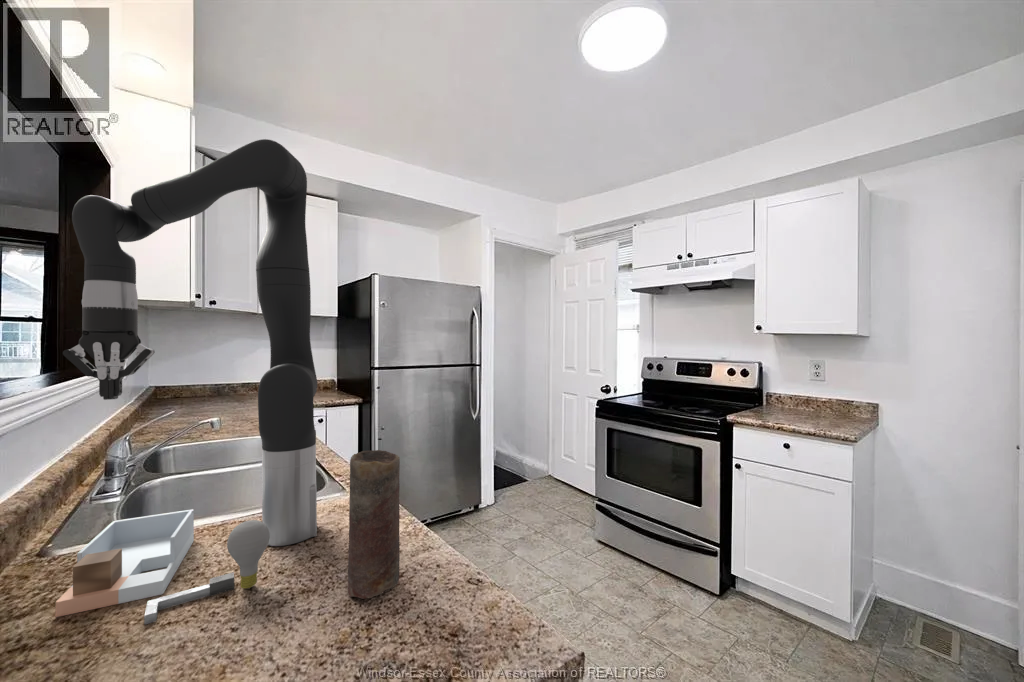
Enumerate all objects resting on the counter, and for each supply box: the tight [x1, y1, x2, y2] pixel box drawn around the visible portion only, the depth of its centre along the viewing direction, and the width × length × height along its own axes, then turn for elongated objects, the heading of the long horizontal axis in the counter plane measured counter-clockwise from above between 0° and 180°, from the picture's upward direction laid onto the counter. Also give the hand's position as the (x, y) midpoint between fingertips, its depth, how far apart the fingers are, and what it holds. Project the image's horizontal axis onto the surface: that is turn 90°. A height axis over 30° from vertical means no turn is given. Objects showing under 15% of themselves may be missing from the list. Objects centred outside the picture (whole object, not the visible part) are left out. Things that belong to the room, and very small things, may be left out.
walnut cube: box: [72, 548, 122, 596], centre depth 61 cm, size 4×4×4 cm
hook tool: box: [143, 572, 235, 626], centre depth 60 cm, size 10×4×2 cm, turn 126°
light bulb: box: [226, 519, 270, 590], centre depth 63 cm, size 5×6×10 cm
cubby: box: [54, 508, 195, 618], centre depth 68 cm, size 12×19×6 cm, turn 26°
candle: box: [347, 449, 401, 600], centre depth 63 cm, size 8×7×20 cm
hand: (110, 399), depth 78 cm, fingers closed
